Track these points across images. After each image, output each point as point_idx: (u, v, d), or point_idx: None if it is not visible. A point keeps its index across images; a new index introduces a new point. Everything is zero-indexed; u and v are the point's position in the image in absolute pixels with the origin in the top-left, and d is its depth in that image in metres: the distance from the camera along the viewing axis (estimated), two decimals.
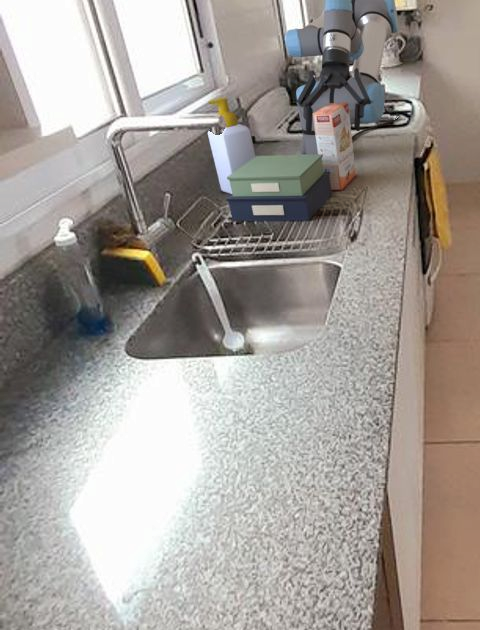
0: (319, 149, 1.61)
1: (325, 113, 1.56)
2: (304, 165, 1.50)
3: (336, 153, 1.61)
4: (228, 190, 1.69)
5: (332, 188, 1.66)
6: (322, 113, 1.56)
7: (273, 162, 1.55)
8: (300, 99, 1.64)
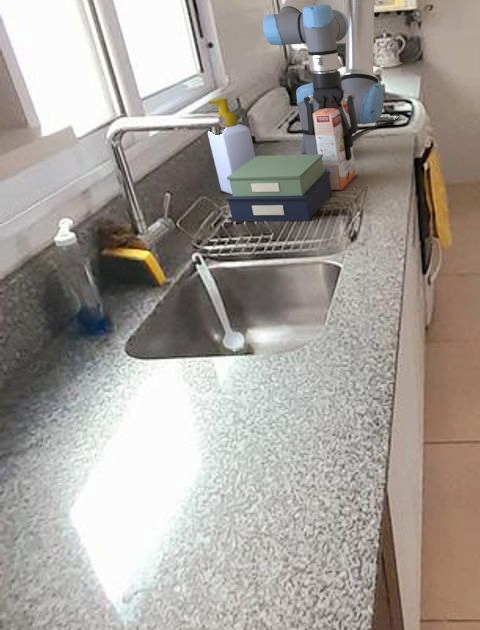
0: (319, 149, 1.61)
1: (325, 113, 1.56)
2: (304, 165, 1.50)
3: (336, 153, 1.61)
4: (228, 190, 1.69)
5: (332, 188, 1.66)
6: (322, 113, 1.56)
7: (273, 162, 1.55)
8: (311, 130, 1.64)
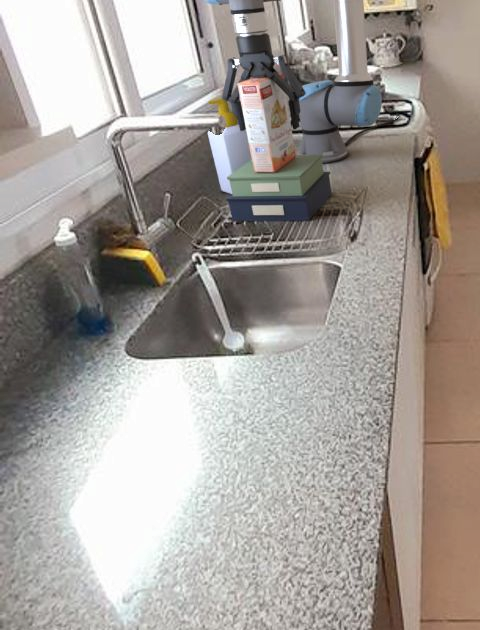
0: (247, 125, 1.41)
1: (251, 83, 1.36)
2: (304, 165, 1.50)
3: (267, 130, 1.41)
4: (228, 190, 1.69)
5: (264, 170, 1.46)
6: (248, 83, 1.36)
7: None
8: (225, 95, 1.44)
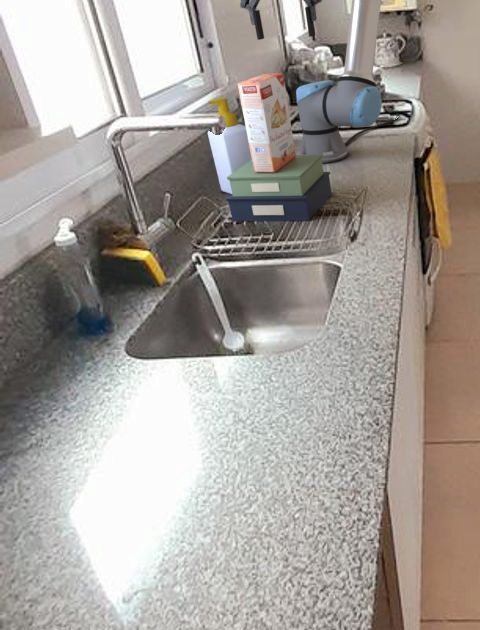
0: (247, 125, 1.41)
1: (252, 83, 1.36)
2: (304, 165, 1.50)
3: (267, 130, 1.41)
4: (228, 190, 1.69)
5: (264, 170, 1.46)
6: (248, 83, 1.36)
7: None
8: (243, 3, 1.48)
